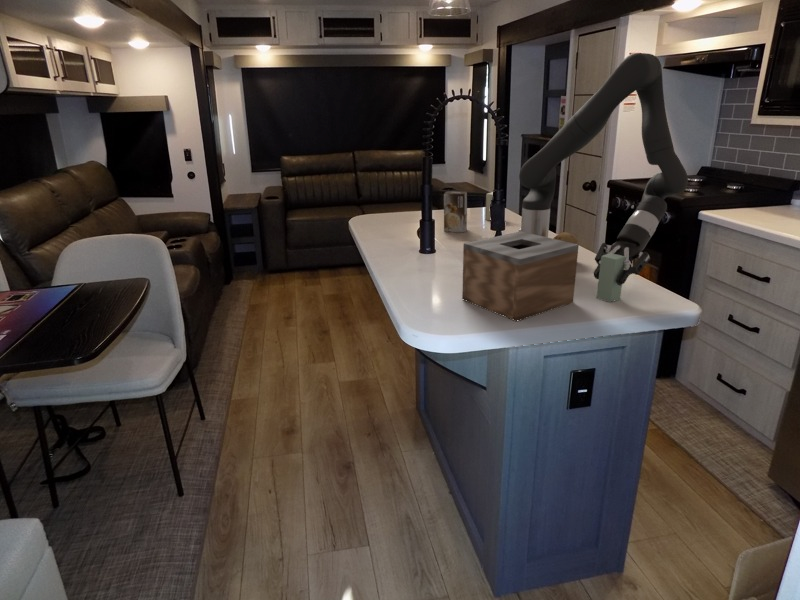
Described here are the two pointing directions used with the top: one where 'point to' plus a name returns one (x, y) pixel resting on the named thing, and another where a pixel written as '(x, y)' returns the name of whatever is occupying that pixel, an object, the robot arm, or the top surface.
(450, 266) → the top surface
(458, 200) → the coffee box
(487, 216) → the skincare box
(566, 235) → the natural sponge
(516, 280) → the box
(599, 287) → the sage peg
